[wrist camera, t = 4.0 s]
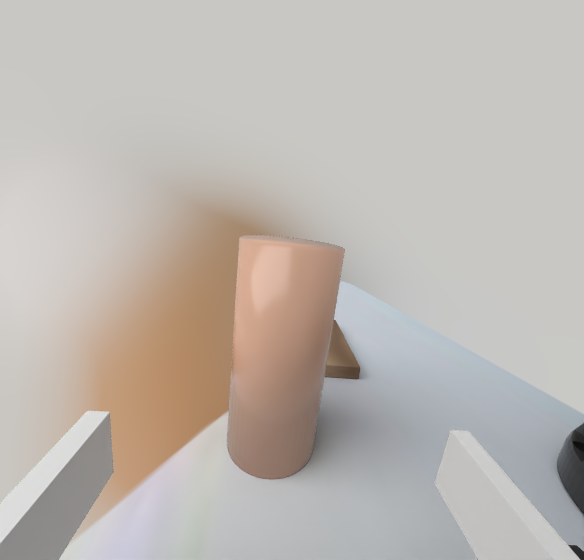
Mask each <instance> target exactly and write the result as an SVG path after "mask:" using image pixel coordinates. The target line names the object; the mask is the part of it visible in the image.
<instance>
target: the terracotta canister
mask: <svg viewBox="0 0 584 560" xmlns="http://www.w3.org/2000/svg"><path fill="white" fill-rule="evenodd" d="M344 251H345V249H344V248H342V247H340V246H336V245H332V244H328V243H324V242H317V241H312V240H305V239H297V238H289V237H277V236H258V235H255V236H254V235H252V236H242V237H240V240H239V255H238V271H237V287H236V304H235V319H234V336H233V351H232V352H233V353H232V367H231V383H230V399H229V415H228V431H227V448H228V452H229V454H230V457H231V458H232V460H233V461H234V463H235V464H236V465H237V466H238V467H239V468H240V469H242V470H243V471H244V472H246V473H248V474H250V475H252V476H255V477H258V478H263V479H280V478H284V477H288V476H290V475H293V474H295V473H296V472H298V471H299V470H301V469H302V468H303V467H304V466H305V465H306V464H307V462H308V461H309V459H310V457H311V455H312V452H313V446H314V440H315V434H316V428H317V421H318V415H319V409H320V402H321V396H322V390H323V384H324V377H325V371H326V365H327V358H328V352H329V346H330V340H331V333H332V327H333V321H334V314H335V308H336V302H337V296H338V289H339V283H340V277H341V270H342V264H343V258H344Z"/></svg>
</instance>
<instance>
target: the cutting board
mask: <svg viewBox="0 0 584 560" xmlns="http://www.w3.org/2000/svg"><path fill="white" fill-rule="evenodd" d="M359 372H360V366H359V364H358V362H357V360H356V358H355V357H354V355H353V353H352V351H351V349H350V347H349V345H348V343H347V341H346V339H345V338H344V336H343V334H342V332H341V330H340V328H339V326H338V324H337V322H336V320H334V321H333V327H332V333H331V340H330V346H329V352H328V358H327V365H326V371H325V377H337V378H352V379H358V377H359Z"/></svg>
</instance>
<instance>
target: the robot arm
mask: <svg viewBox="0 0 584 560" xmlns="http://www.w3.org/2000/svg"><path fill="white" fill-rule="evenodd" d="M111 441H112V440H111V424H110V412H99V411H87V412H86V413H85V414H84V415H83V416H82V417H81V418H80V419H79V420H78V422H77V423H76V424H75V425H74V426H73V427H72V428H71V429H70V430H69V431H68V432H67V433H66V434H65V435H64V436H63V437H62V438H61V439H60V441H59V442H58V443H57V444H56V445H55V446H54V447H53V448H52V449H51V450H50V451H49V452H48V453H47V454H46V455H45V456H44V458H43V459H42V460H41V461H40V462H39V463H38V464H37V465H36V466H35V467H34V468H33V469H32V470H31V471H30V472H29V473H28V474H27V475H26V476H25V477H24V479H23V480H22V481H21V482H20V483H19V484H18V485H17V486H16V487H15V488H14V489H13V490H12V491H11V492H10V493H9V495H7V496H6V497H5V499H4V500H3V501H2V502H1V503H0V560H59V558H60V557H61V555H62V553H63V552H64V550H65V549H66V547H67V545H68V544H69V542H70V541H71V539H72V537H73V536H74V534H75V533H76V531H77V529H78V528H79V526H80V525H81V523H82V521H83V520H84V518H85V517H86V515H87V513H88V512H89V510H90V509H91V507H92V505H93V504H94V502H95V501H96V499H97V498H98V496H99V494H100V493H101V491H102V489H103V488H104V486H105V485H106V483H107V481H108V480H109V478H110V477H111V475H112V474H113V472H114V471H113V455H112V442H111ZM557 466H558V471H559V474H560V477H561V480H562V482H563V484H564V486H565V487H566V489H567V491H568V492H569V494H570V495H571V497H572V498H573V500H574V501H575V503H576V504H577V505H578V507H579V508H580V509H581V510H582V512H583V513H584V423H583V424H582V425H580V426H579V427H578V428H576V429H575V430H574V431H572V432H571V433H570V435H569V436H568V437H567V439H566V441H565V443H564V445H563V448H562V450H561V452H560V454H559V457H558V461H557ZM434 484H435V485H436V487H437V489H438V491H439V492H440V494H441V496H442V498H443V499H444V501H445V503H446V505H447V506H448V508H449V510H450V511H451V513H452V515H453V517H454V518H455V520H456V522H457V524H458V525H459V527H460V529H461V531H462V532H463V534H464V536H465V538H466V539H467V541H468V543H469V544H470V546H471V548H472V550H473V551H474V553H475V555H476V557H477V558H478V560H584V551H582V550H581V549H580V548H579V547H578V546H576V545H567V544H566V543H565V541H564V540H563V539H562V538H561V537H560V536H559V534H558V533H557V532H556V531H555V530H554V529H553V528H552V526H551V525H550V524H549V523H548V522H547V521H546V519H545V518H544V517H543V516H542V515H541V514H540V513H539V511H538V510H537V509H536V508H535V507H534V506H533V505H532V503H531V502H530V501H529V500H528V499H527V498H526V496H525V495H524V494H523V493H522V492H521V491H520V490H519V488H518V487H517V486H516V485H515V484H514V483H513V481H512V480H511V479H510V478H509V477H508V476H507V475H506V473H505V472H504V471H503V470H502V469H501V468H500V467H499V465H498V464H497V463H496V462H495V461H494V460H493V458H492V457H491V456H490V455H489V454H488V453H487V452H486V450H485V449H484V448H483V447H482V446H481V445H480V443H479V442H478V441H477V440H476V439H475V438H474V437H473V435H472V434H471V433H470V432H469V431H459V430H451V431H450V434H449V437H448V441H447V444H446V447H445V451H444V454H443V457H442V460H441V464H440V467H439V470H438V473H437V477H436V480H435V483H434Z"/></svg>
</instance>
